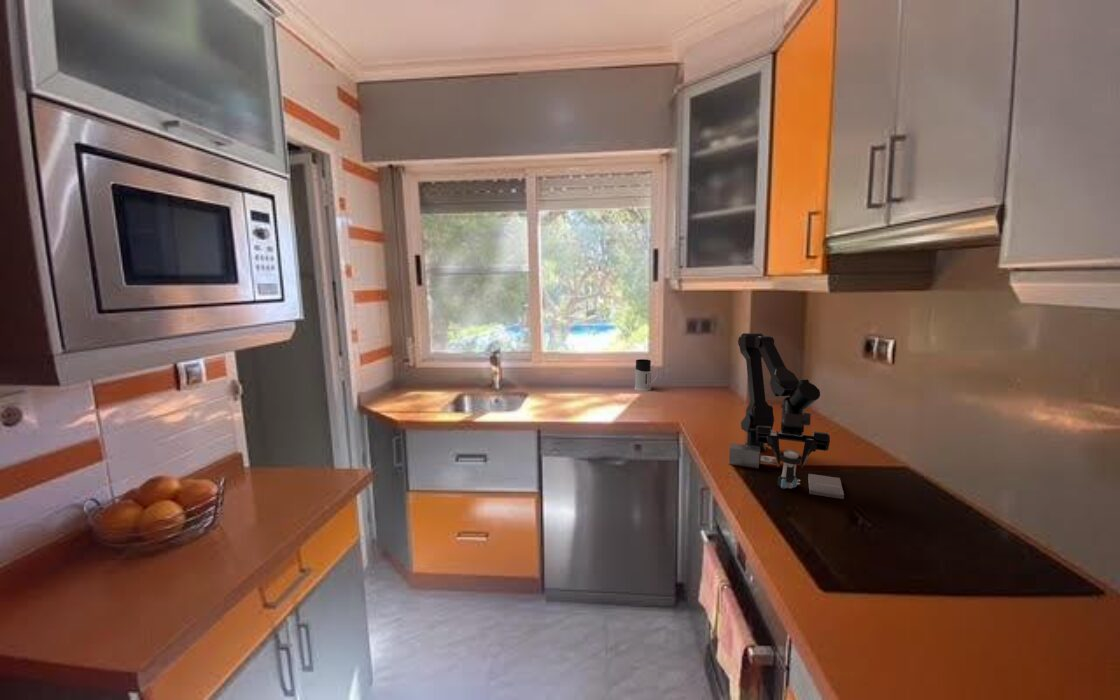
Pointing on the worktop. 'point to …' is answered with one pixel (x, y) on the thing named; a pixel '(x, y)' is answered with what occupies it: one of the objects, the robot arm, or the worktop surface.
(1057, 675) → the worktop surface
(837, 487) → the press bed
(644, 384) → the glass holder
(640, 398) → the worktop surface
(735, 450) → the block
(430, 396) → the worktop surface
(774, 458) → the press pin
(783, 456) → the push button
